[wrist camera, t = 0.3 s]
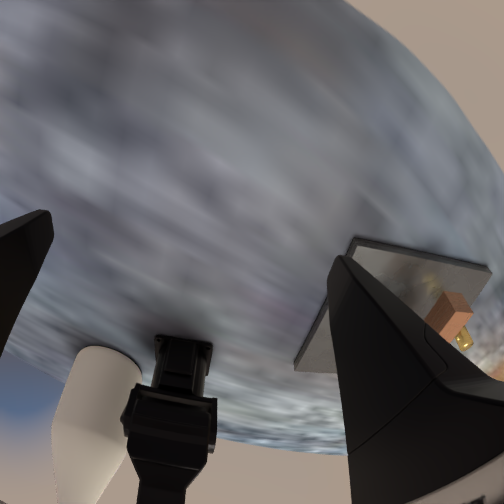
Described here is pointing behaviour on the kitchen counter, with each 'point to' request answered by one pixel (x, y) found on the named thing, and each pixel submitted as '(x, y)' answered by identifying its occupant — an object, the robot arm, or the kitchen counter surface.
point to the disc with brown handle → (449, 315)
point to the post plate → (398, 292)
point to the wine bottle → (91, 424)
